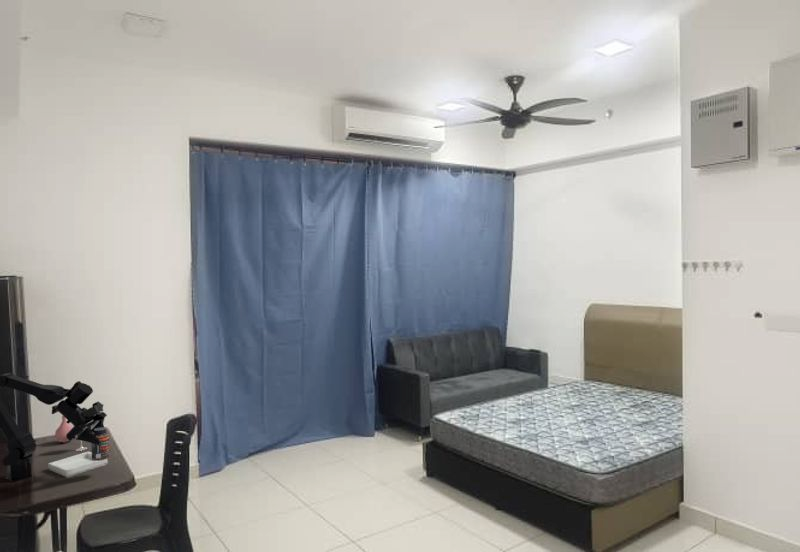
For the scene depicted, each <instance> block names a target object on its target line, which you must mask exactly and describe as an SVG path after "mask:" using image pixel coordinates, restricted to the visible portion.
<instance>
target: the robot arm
mask: <svg viewBox="0 0 800 552" xmlns="http://www.w3.org/2000/svg"><path fill="white" fill-rule="evenodd" d="M5 387H6V388H9V389H13V390H15V391H19V392H21V393H24V394H27V395H31V396H33V397H35V398H36V399H37V401H39V402H41V403H42V404H45V405H48V406H49V405H50V406H51V405H53V404H56V403H57V404H56V405H53V406H51V408H52V409H51V414H52V415H54V414H56V413H59V414H60V415H61V416H64V417H65V418H66V421H67V423H68V424H69V425H70V424H72V427H73V425H74V427H73V428H72V429H71V430H70V431H69V432H68V433H67V434H66V438H67V439H68V440H69V441H68V442H72V441H74V440H76V441H80V440H81V441H82V442H86V443H90V444H91V443H94V444H97V445H99V444H100V443H101V442H100V441H99V439H98V438H97V437H96V436H95V435H94V429H96V428H100V427H105V426H104V422H105V418H106V417H107V416H108V414H106V412H104V404H103V403H102V402H100V401H96V402H94V403H92V406H91V407H89V408H87V407H81V406H79V405H82V404H83V403H84V402H85V401H86V400H87V399H88V398H89V397H90V396H91V395H92V394H93V392H94V389H93V388H92V387H91V386H90V385H89V384H86V383H85V382H81V381H80V380H78V381H76V382H75V383H74V384H73V385H72V386H71V387H70V388H64V387H63V386H62V385H55V384H42V383H38V382H36V381H33V380H29V379H27V378H23V377H21V376H17V375H15V374H14V373H10V372H8V373H4V374H1V375H0V431H1V432H2V434H3V436H4V438H5V439H6V449H7V451H8V453H7V455H6V456H5V457H4V458H3V459H2V464H3V465H4V466H5V467H6V469H7V476H5V479H6V480H8V481H10V482H12V483H15V482H17V481H21V480H24V479H27V478H31V477H32V476H33V474H32V462H31V461H30V458H32V457H33V453H35V452H36V448H37V444H36V442H37V440H36V439H35V438H34V437H33V435H32V433H31V432H28V433H25V432H23V431H22V430H21V429H20V427H19V425H18V424H17V422H16V420H15V419H14V417H13V416H12V414H11V412H10V411H9V409H8V407H7V406H6V405H5V403H4V401H3V399H2V398H3V397H2V396H3V395H2V394H3V392H2V389H3V388H5ZM106 432H107V430H106ZM107 433H108V432H107ZM76 435H77V436H76Z"/></svg>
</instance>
